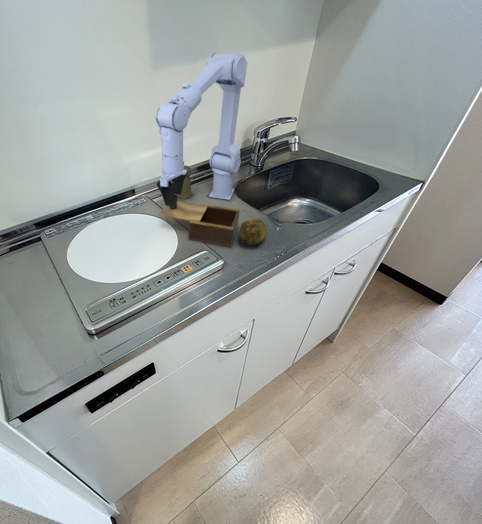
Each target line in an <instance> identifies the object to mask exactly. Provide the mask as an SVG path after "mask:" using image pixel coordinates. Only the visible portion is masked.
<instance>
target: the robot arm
mask: <svg viewBox="0 0 482 524" xmlns="http://www.w3.org/2000/svg"><path fill="white" fill-rule="evenodd" d="M247 68H248V61H247V60H246V57H245V55H244V53H217V52H212V53H211V54H210V55H209V56H208V57H207V58H206V60H205V65H204V68H203V69H202V70H201V72H200V73H199V74H198V75H197V77H195V78H196V79H195V80H194V81H193V82H185V83H183V85H182V86H181V88H180V90H178V91H177V93H175V94H174V96H172V97H171V99H170V100H169V101H168V102H163V103H161V104H160V105H159V106H158V107H157V110H156V115H155V117H154V119H155V123H156V125H157V127H158V132H159V134H160V140H161V160H162V161H161V163H162V164H161V165H162V168H161V177H160V179H159V180H158V181H157V182H156V187H157V189H158V190H159V191H160V193H161V196H162V199H163V201H164V206H166V205H167V206H172V205H173V201H174V194H179V195H180V194H181V192H182V187H183V183H184V180H185V177H186V175H187V173H188V170H186V169H184V166H185V160H184V129H186V127H187V125H188V123H189V120H190V119H189V118H191V114H192V113H193V112H194V110H195V109H196V108H197V107H198V105H200V104H201V103H202V99H203V94H204V93H205V92H206V91H207V90H208V89H209V88H211V86H213V85H214V84H217V85H219V87H220V89H221V90H222V91H223V93H222V103H221V113H220V122H219V123H220V126H219V135H218V136H219V137H218V144H215V146H213V147H212V148H211V154H210V157H209V161H208V163H209V166H210V168H211V171H212V172H213V180H212V189H211V191H210V193H209V195H208V197H209V198H212V199H213V198H214V199H219V200H226V201H230V200H231V199H232V196H233V194H234V192H235V188H234V187H233V184H234V178H235V177H234V175H235V174H236V173H237V172H238V171H239V169H240V167H241V164H242V163H241V161H242V160H241V150H240V149H239V147H238V146H237V145H236V144H235V138H236V130H237V123H238V114H239V107H240V98H241V90H242V88H244V87H245V83H246V77H247V76H246V75H247V70H248V69H247Z"/></svg>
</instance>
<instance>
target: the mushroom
mask: <svg viewBox="0 0 482 524" xmlns="http://www.w3.org/2000/svg"><path fill="white" fill-rule="evenodd" d="M184 169H186V170H188V173H187V175H186V177H185V180H184V183H183V187H182V192H181V194H180V195H179V194H176V195H177V199H178V198H179V199H183V200H186V199H190V198H191V197H192V196H193V193H192V183H191V175H192V168H191V166H189V165H184Z"/></svg>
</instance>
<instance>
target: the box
mask: <svg viewBox="0 0 482 524" xmlns="http://www.w3.org/2000/svg"><path fill="white" fill-rule="evenodd" d="M199 204H200V205H207V206H208V208H207V210H206V212H205V213H204V215H203V217H202V219H201V221H200V222H198V221H192V220H190V221H189V227H188V229H189V230H188V231H189V232H188V236H189V237H188V240H190V241H195V242H200V243H205V244H210V245H214V246H215V245H216V246H220V247H225V248H231V247H232V244H233V241H234V239H235V235H236V233H237V230H238V227H239V226H238V224H239V218H240V213H241V211H240V210H241V209H238V208H231V207H225V206H219V205H213V204H205V203H199Z"/></svg>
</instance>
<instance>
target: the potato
mask: <svg viewBox="0 0 482 524" xmlns="http://www.w3.org/2000/svg"><path fill="white" fill-rule="evenodd" d="M267 235H268V229H267V226H266V223H265V222H264V221H263V220H261V219H259V218H252V219H246V220H245V221H243V222H242V223H241V225H240V227H239V237H240V241H241V243H242V244H246V245H249V246H253V245H254V246H255V245H257V244H261V243H263V242H264V241H265V240H266V239H267Z"/></svg>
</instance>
